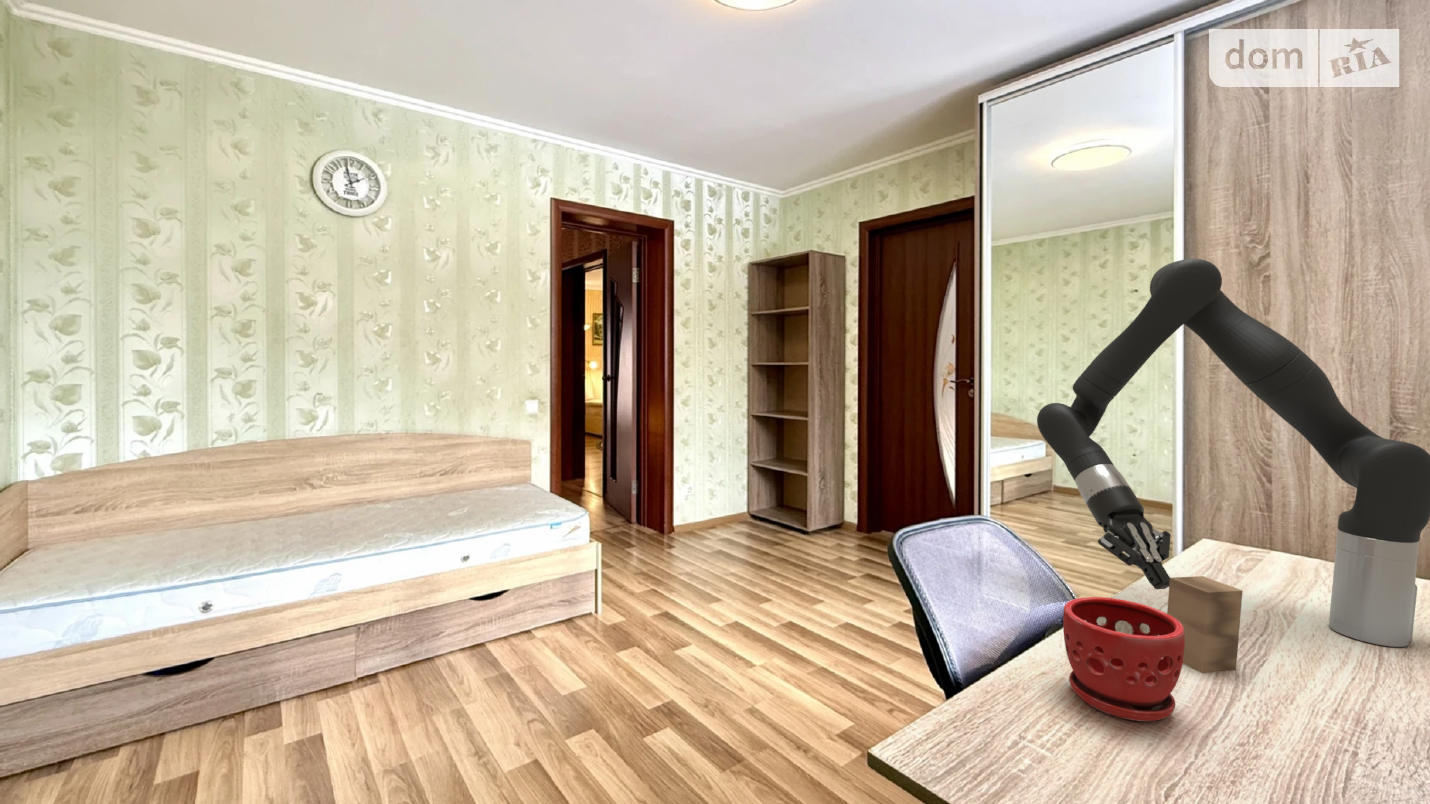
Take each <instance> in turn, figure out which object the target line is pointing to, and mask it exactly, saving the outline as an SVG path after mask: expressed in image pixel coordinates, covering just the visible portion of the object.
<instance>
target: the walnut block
mask: <svg viewBox="0 0 1430 804" xmlns="http://www.w3.org/2000/svg"><path fill="white" fill-rule="evenodd" d="M1167 597H1168V598H1167V599H1168V600H1167V614H1169V615H1170V616H1172V617H1174V618H1175V619H1177V620H1178V621H1179V622H1180V623H1181V624H1182V625H1183V627H1184V633H1185V647H1184V655H1183V664H1184V665H1185V666H1188V667H1190V668H1191V669H1193V670H1195V671H1197V672H1199V673H1200V674H1205V673H1218V672H1230V671H1231V672H1232V671H1237V662H1238V660H1237V659H1238V652H1239V650H1238V649H1239V639H1240V638H1239V637H1240V627H1241V616H1242V615H1241V614H1242V601H1243V590H1241V589H1239V588H1236V587H1234V586H1232V585H1231V586H1230V585H1228V584H1225V583H1223V582H1220V581H1217V580H1214V579H1212V578H1209V577H1206V576H1203V575H1201V576H1200V575H1199V576H1179V577H1178V576H1177V577H1170V583H1169V587H1168V596H1167Z"/></svg>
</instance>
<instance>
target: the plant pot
mask: <svg viewBox="0 0 1430 804" xmlns="http://www.w3.org/2000/svg"><path fill="white" fill-rule="evenodd" d="M1062 618H1063V622H1062V624H1063V625H1062V626H1063V628H1062V629H1063V638H1064V646H1065V651H1066V652H1065V653H1066V656H1067V659H1068V662H1069V665H1070V667H1071V669H1072V671H1071V672H1070V673H1069V675H1068V681H1069V684H1070V686H1071V688H1072V690H1073V691H1074V693H1076V695H1078V697H1079V698H1080V699H1082V700H1083V701H1084V702H1085V703H1086V704H1088V705H1089V706H1091V707H1093V708H1094V709H1095V710H1096V709H1097V710H1099V711H1100V712H1103V713H1106V714H1108V715H1110V716H1111V715H1112V716H1114V717H1117V718H1120V719H1121V718H1122V719H1126V720H1131V721H1132V722H1155V721H1159V720H1162V719H1163V720H1164V719H1166V718H1167V717H1169V716H1171V714H1173V712H1174V710H1175V708H1176V699H1175V698H1174V696H1173V695H1172V692H1173V690H1174V689H1175V687H1176V685H1177V684H1178V681H1179V679H1180V676H1181V672H1182V667H1183V664H1184V663H1183V655H1184V647H1185V633H1184V627H1183V625H1182V624H1181V623H1180V622H1179V621H1178V620H1177V619H1175V618H1174V617H1172V616H1170V615H1169V614H1167V613H1166V612H1164V611H1162V610H1159V609H1157V608H1155V607H1152V606H1149V605H1146V604H1142V603H1139V602H1135V601H1130V600H1125V599H1120V598H1112V597H1104V596H1103V597H1101V596H1089V597H1088V596H1087V597H1086V596H1085V597H1079V598H1075V599H1071V600H1069V601H1068V602H1066V603H1065V604H1064V606H1063V617H1062ZM1099 618H1103V619H1105V621H1106V622H1105V623H1104V624H1099V623H1098V619H1099ZM1121 621H1122V622H1126V623H1128V624H1129V626H1131V628H1132V633H1126V632H1125V633H1124V632H1120V631H1118V630H1117V629H1116V625H1117V623H1118V622H1121ZM1142 624H1145V625H1146V626H1148V628H1149V632H1148V633H1147V632H1144V631H1143V630H1142V628H1141V625H1142Z"/></svg>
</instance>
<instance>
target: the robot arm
mask: <svg viewBox="0 0 1430 804" xmlns="http://www.w3.org/2000/svg"><path fill="white" fill-rule="evenodd" d="M1222 285H1223V278H1222V274H1221V271H1220V270H1219V268H1218V267H1217V266H1216V265H1215V264H1214V263H1212V262H1211V261H1209V260H1206V259H1201V258H1187V259H1186V258H1185V259H1180V260H1176V261H1173V262H1171V263H1168V264H1166V265H1164V266H1162V267H1161V268H1159V269H1157V271H1156V272H1155V273H1154V274H1153V276H1152V277H1151V280H1150V283H1149V293H1150V297H1149V300H1148V301H1147V302H1146V304H1145V306H1143V308H1142V310H1140V312H1139V313H1138V315H1136V317H1135V318H1134V320H1132V322H1131V323H1130V324H1129V325H1128V326H1127V327H1126V328H1125V329H1124V330H1123V331H1122V332H1120V333H1119V335H1117V337H1116V338H1114V340H1112V341H1111V342H1110V343H1109V344H1108V345H1107V346H1106V347H1105V348H1104V349H1103V350H1102V351H1101V352H1099V354H1098V355H1097V356H1095V358H1093V360H1092V361H1091V362H1090V364H1089V365H1088V366H1087V367H1086V368H1085V370H1083V371H1082V372H1081V374H1080V375H1079V377H1078V378H1077V379H1076V380H1075V382H1074V383H1073V384H1072V391H1073V393H1074V394H1075V398H1074V400H1073V401H1072V404H1071V405H1070V406H1069V405H1067V404H1064V403H1060V402H1051V403H1047V404H1046V405H1044V406H1043V407H1042V408H1041V409H1040V410H1039V412H1038V414H1037V418H1036V424H1037V428H1038V431H1039V433H1040V434H1041V436H1042V437H1043V439H1044V441H1045V442H1046V443H1047V444H1048V445H1049V446H1050V448H1051V449H1052V450H1053V451H1054V453H1056V455H1058V457H1059V458H1060V459H1061V461H1063V463H1064V464H1065V467H1066V469H1067V471H1068V472H1069V474H1070V475H1071V477H1072V479H1073V480H1074V482H1075V485H1076V487H1077V490H1078V492H1079V494H1080V496H1081V498H1082V499H1083V501H1084V502H1085V504H1086V506H1087V508H1088V510H1089V511H1090V513H1091V514H1092V515H1091V516H1093V519H1094V520H1095V522H1096V523H1097V525H1098V526H1100V527H1101V528H1102V530H1103V532H1104V533H1103V536H1101V537H1099V538H1098V539H1097V543H1098V544H1099V545H1100V546H1101V547H1102V548H1104V549H1105V550H1106V551H1108V552H1110V553H1111V554H1112V555H1113V556H1115V557H1116V558H1118V559H1119V560H1120V561H1121V562H1123V564H1125V565H1127V566H1132V565H1133V566H1136V567H1137V568H1138V569H1140V570H1141V571H1142V573H1143V574H1144V576H1145V578H1146V579H1147V580H1148V582H1149V584H1150V585H1151V586H1152V587H1153V589H1155V590H1166V589H1168V588H1169V583H1170V578H1171V576H1170V575H1169V573H1168V571H1167V570H1166V569H1165V568H1164V566H1163V562H1164V561H1165V560H1167V559H1169V557H1170V548H1171V534H1170V532H1168V531H1167V530H1163V531H1162V532H1161V531H1159V530H1157V529H1154V527H1153V525H1152V523H1151V522H1150V521H1149V520H1147V518H1145V516H1144V515H1145V514H1144V513H1145V512H1144V509H1145V508H1144V506H1143V505H1142V502H1140V500H1139V499H1138V497H1137V495H1136V494H1135V493H1134V490H1132V488H1131V486H1130V484H1128V482H1127V480H1126V479H1125V476H1124V475H1122V473H1121V472H1120V470H1119V469H1117V468H1116V466H1115V465H1114V463H1113V462H1112V460H1111V458H1110V457H1109V455H1108V454H1107V452H1106V450H1104V448H1103V447H1102V446H1101V445H1100V444H1099V443H1097V442H1096V440H1093V439H1092V438H1091V436H1092V435H1093V433H1094V432H1095V431H1096V429H1097V427H1098V426H1099V423H1100V422H1101V420H1102V417H1103V416H1104V414H1105V412H1106V411H1107V410H1106V409H1107V408H1108V405H1109V404H1110V403H1111V402H1112V401H1113V400H1114V399H1115V397H1116V396H1117V395H1118V394H1119V393H1120V391H1122V390H1123V388H1125V386H1126V385H1127V384H1128V383H1129V382H1130V381H1131V380H1132V379H1133V377H1134V376H1135V375H1136V373H1138V371H1139V370H1140V369H1141V368H1142V367H1143V366H1144V364H1146V362H1147V361H1148V360H1149V358H1150V357H1151V356H1153V355H1154V353H1155V352H1156V351H1157V350H1158V349H1159V348H1160V347H1161V346H1162V345H1163V344H1164V343H1165V342H1166V341H1167V340H1168V339H1169V338H1170V337H1171V336H1172V335H1173V334H1175V332H1176V331H1178V330H1179V329H1180V328H1181V327H1182V326H1183V325H1184V326H1185V327H1187V328H1188V329H1189V330H1191V331H1192V332H1193V333H1194V334H1196V335H1197V336H1198V337H1199V338H1200V339H1201V340H1202V341H1203V342H1204V343H1205V344H1206V345H1207V346H1208V347H1209V349H1210V350H1211V351H1212V352H1213V353H1214V354H1215V356H1216V357H1217V358H1218V359H1219V360H1220V361H1221V362H1222V363H1223V365H1225V366H1226V367H1227V368H1228V369H1229V371H1231V372H1232V374H1234V376H1236V378H1237V379H1238V380H1239V381H1240V382H1241V383H1243V385H1244V386H1245V387H1246V388H1248V389H1249V390H1250V391H1251V392H1252V393H1253V394H1254V395H1255V396H1256V397H1257V398H1259V400H1261V401H1262V402H1263V403H1264V404H1266V405H1267V407H1269V408H1270V409H1271V410H1272V411H1274V413H1276V414H1277V415H1278V416H1279V417H1280V418H1281V419H1282V420H1284V421H1285V422H1286V423H1287V424H1288V425H1290V426H1291V427H1292V428H1294V429H1295V430H1296V431H1297V432H1298V433H1299V434H1300V435H1301V436H1302V437H1303V438H1304V439H1305V440H1306V441H1307V442H1308V443H1309V444H1310V445H1311V446H1312V447H1313V449H1314V450H1315V451H1316V452H1317V453H1318V455H1319V456H1321V458H1322V459H1323V460H1324V461H1325V462H1326V464H1327V465H1328V466H1329V467H1330V469H1332V471H1333V472H1334V473H1335V474H1336V476H1338V478H1340V479H1341V480H1342V481H1344V482H1345V483H1346V484H1348V485H1349V486H1351V487H1353V488H1355V489H1356V492H1355V493H1356V495H1355V499H1354V504H1353V505H1352V507H1351V508H1350V509H1349V510H1346V511H1342V512H1341V513H1340V514H1339V515H1338V519H1337V530H1336V531H1337V532H1336V541H1335V555H1334V565H1333V575H1332V585H1331V597H1330V598H1331V599H1330V608H1329V615H1328V616H1329V617H1328V627H1329V628H1330V629H1332V630H1333V631H1335V632H1337V633H1338V634H1341V635H1344V636H1346V637H1348V638H1352V639H1354V640H1358V641H1362V642H1365V643H1369V644H1374V645H1377V646H1385V647H1397V648H1404V647H1408V646H1409V645H1410V642H1412V641H1413V633H1414V627H1415V623H1414V622H1415V615H1416V613H1415V612H1416V608H1417V607H1416V606H1417V595H1418V586H1417V584H1416V581H1417V580H1416V579H1417V578H1416V577H1417V569H1418V556H1419V545H1420V540H1421V533H1422V531H1423V530H1424V529H1425V528H1426V526H1427V525H1428V523H1429V521H1430V453H1429V452H1428V451H1427V450H1425V449H1424V448H1423V447H1421V446H1418V445H1416V444H1414V443H1411V442H1410V443H1409V442H1406V441H1402V440H1397V439H1396V440H1395V439H1389V438H1384V437H1382V436H1380V435H1378V434H1377V433H1375V432H1374V431H1373V430H1371V429H1370V428H1369V427H1367V426H1366V425H1365V424H1363V423H1362V422H1361V421H1360V420H1358V419H1357V418H1356V417H1355V416H1354V415H1352V414H1351V413H1350V412H1349V410H1347V408H1345V407H1344V405H1343V404H1342V402H1341V401H1340V399H1339V397H1338V396H1337V393H1336V391H1335V389H1334V387H1333V385H1332V383H1331V380H1330V379H1329V378H1328V376H1327V375H1326V373H1325V372H1324V371H1323V370H1322V369H1321V367H1320V366H1319V365H1318V364H1317V363H1316V362H1315V361H1314V360H1313V359H1311V358H1310V357H1309V356H1308V355H1307V354H1306V353H1305V352H1304V351H1302V350H1301V349H1300V348H1299V347H1298V346H1297V345H1295V344H1294V343H1293V342H1292V341H1290V339H1288V338H1287V337H1285V336H1284V335H1282V334H1280V333H1279V332H1277V331H1276V330H1274V329H1273V328H1271V327H1270V326H1267V325H1266V324H1265V323H1263V322H1261V321H1259V320H1257V319H1256V318H1254V317H1253V316H1251V315H1249V314H1248V313H1246V312H1245V311H1243V310H1242V309H1241V308H1239V307H1238V306H1237V305H1236V304H1235V303H1234V302H1232V300H1231V299H1230V298H1229V297H1228V296H1227V295H1226V294H1225V293H1224V292H1223V291H1222V290H1221V289H1222Z"/></svg>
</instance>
